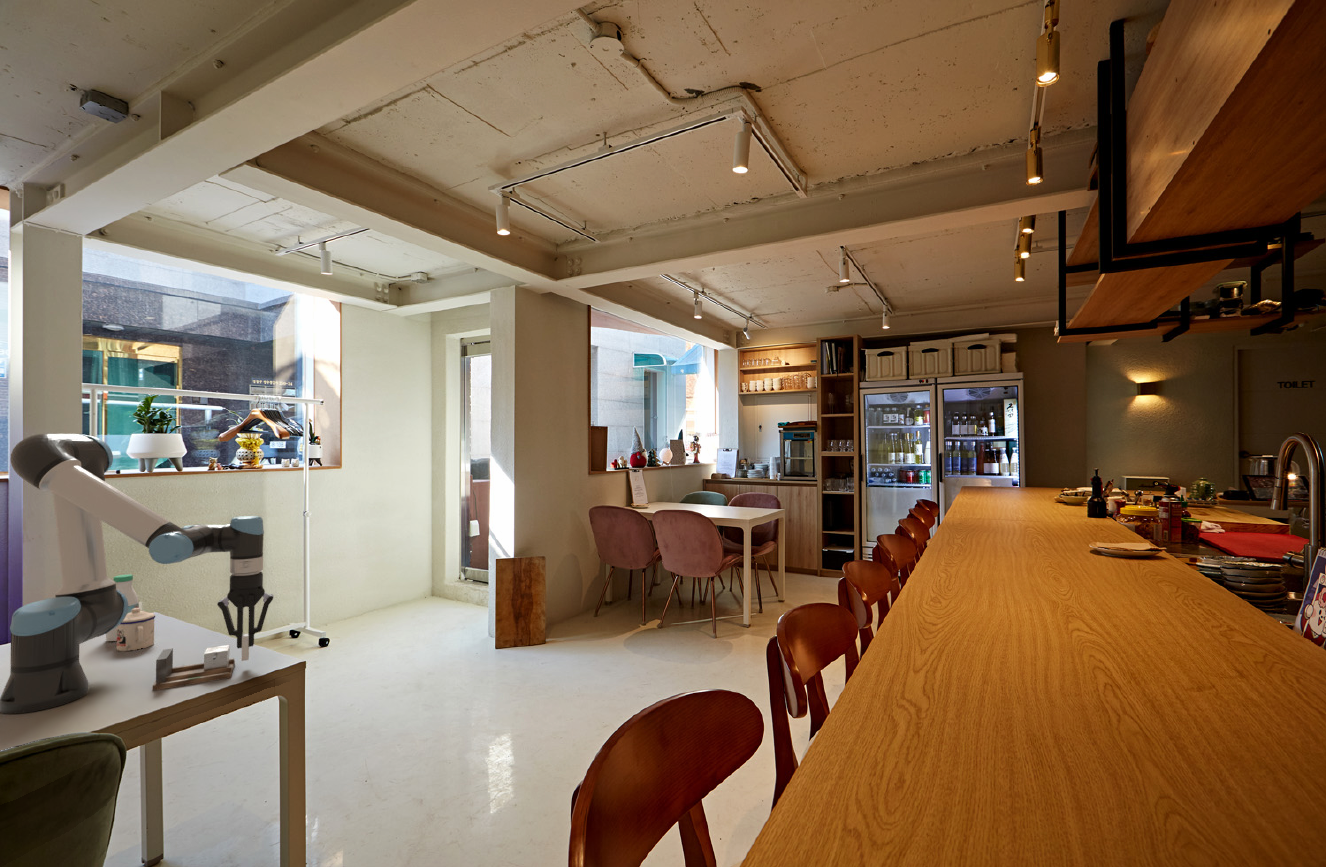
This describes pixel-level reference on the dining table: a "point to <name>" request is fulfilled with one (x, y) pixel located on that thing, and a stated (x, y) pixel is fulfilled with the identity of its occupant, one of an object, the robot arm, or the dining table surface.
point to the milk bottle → (126, 588)
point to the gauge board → (185, 672)
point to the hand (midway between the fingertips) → (245, 658)
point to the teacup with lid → (136, 631)
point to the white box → (216, 657)
